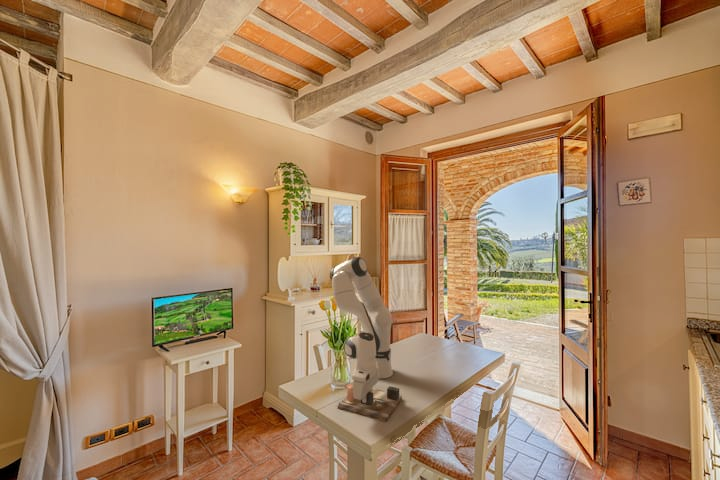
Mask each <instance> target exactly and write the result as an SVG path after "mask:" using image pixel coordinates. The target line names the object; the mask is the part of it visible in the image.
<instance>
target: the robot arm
mask: <svg viewBox="0 0 720 480" xmlns="http://www.w3.org/2000/svg"><path fill="white" fill-rule="evenodd" d="M329 279H330V281H331V290H332V296H333V300H334V303H335V306H336V307H337V309H339V310H340V311H342V312H344V313H346V314H347V313H348V314H352V315H354V316H356V317H357V319H358V321H359V323H360V325H361V329H362V331H363V332H359V334H357V335H354V336H349V337H347V338H346V339H345V341H344V344H343V349H344V354H345V355H346V356H348V358H350V359H353V360H354V359H355V360H356V366H355V368H354V369H353V373H352V375H351V378H352V381H353V382H352V384H353V397H354V398H355V399H358V400H362V402H363V403H366V402H367V398H366V394H367V393H368V392H372V388H374V387H375V386H376V385H377V383H378V382H379V380H381V379H387V378H390V377H392V376H393V375H394V371H393V369H392V363H391V361H392V360H391V359H392V353H391V351H392V350H391V349H392V348H391V329H392V323H393V316H392V312H391V311H390V310H389V309H388V307H387V306H386V305H385V303H384V301H383V298H382V296H381V294H380V291H379V289H378V287H377V285H376V284H375V281H374V280H373V278H372V276H371V274H370V273H369V272H368V264H367V262H366V260H365V259H364V258H362V257H360V256H355V257H353V258H352V259H347V260H345V261H343V262H342V263H339V264H338V265H336V266H334V267H332V268H331V269H330V271H329ZM356 293H357V295H358V296H359V298H358V296H357V295H356ZM359 299H360V300H361V301H360V300H359Z"/></svg>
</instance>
